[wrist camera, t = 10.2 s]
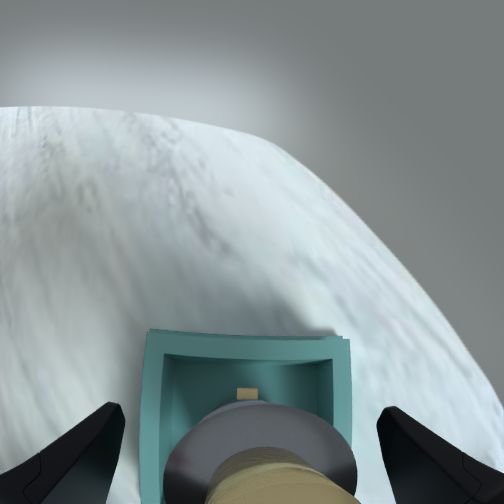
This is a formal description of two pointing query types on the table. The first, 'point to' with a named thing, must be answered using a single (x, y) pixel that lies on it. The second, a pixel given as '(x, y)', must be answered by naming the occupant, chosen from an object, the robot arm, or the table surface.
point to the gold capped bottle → (260, 457)
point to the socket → (233, 386)
